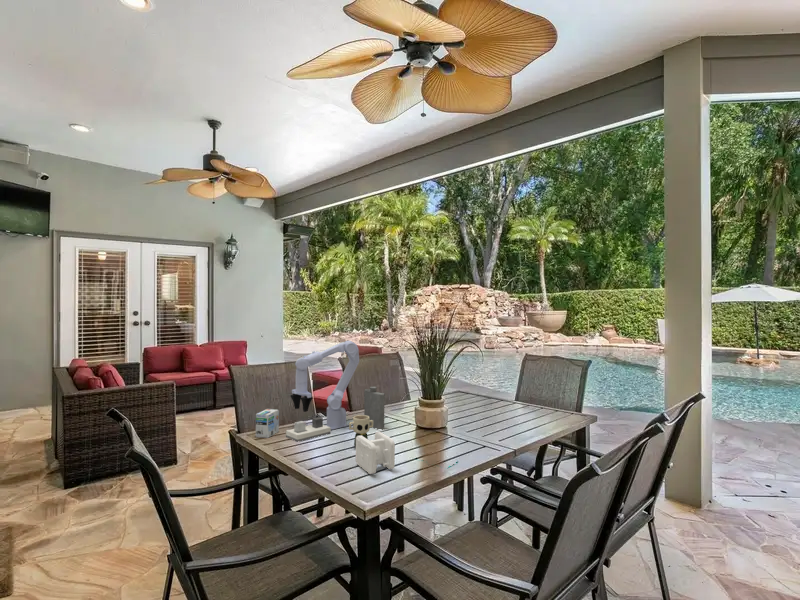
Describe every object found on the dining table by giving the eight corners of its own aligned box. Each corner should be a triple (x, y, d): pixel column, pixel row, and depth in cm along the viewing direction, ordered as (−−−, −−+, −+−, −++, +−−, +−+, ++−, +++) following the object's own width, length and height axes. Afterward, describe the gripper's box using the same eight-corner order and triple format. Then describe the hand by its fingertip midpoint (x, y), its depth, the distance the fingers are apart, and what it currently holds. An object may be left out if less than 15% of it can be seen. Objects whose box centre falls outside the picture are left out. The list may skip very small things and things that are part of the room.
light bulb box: (268, 438, 199) (268, 414, 199) (254, 437, 201) (255, 413, 201) (279, 431, 210) (279, 409, 210) (266, 430, 211) (266, 408, 211)
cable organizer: (396, 472, 160) (396, 441, 160) (370, 477, 155) (370, 445, 155) (378, 459, 173) (378, 430, 173) (353, 464, 168) (354, 434, 168)
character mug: (351, 451, 183) (351, 420, 183) (346, 445, 189) (347, 416, 189) (375, 448, 187) (375, 417, 187) (370, 443, 193) (370, 413, 193)
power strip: (318, 429, 214) (318, 422, 214) (330, 433, 207) (330, 426, 207) (285, 437, 201) (286, 429, 201) (297, 441, 194) (297, 434, 194)
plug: (301, 433, 203) (301, 420, 203) (305, 435, 201) (305, 422, 201) (294, 435, 200) (294, 422, 200) (298, 436, 198) (298, 423, 198)
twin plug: (319, 425, 210) (319, 417, 210) (322, 426, 208) (322, 418, 208) (312, 427, 207) (312, 418, 207) (315, 428, 205) (315, 419, 205)
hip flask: (385, 429, 215) (385, 388, 215) (378, 430, 212) (379, 389, 212) (368, 422, 227) (368, 384, 227) (361, 423, 225) (361, 384, 225)
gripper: (286, 381, 216) (286, 408, 216) (302, 385, 206) (302, 414, 206) (298, 379, 221) (298, 406, 221) (315, 383, 211) (314, 411, 211)
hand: (301, 410), depth 214 cm, fingers open, 7 cm apart
